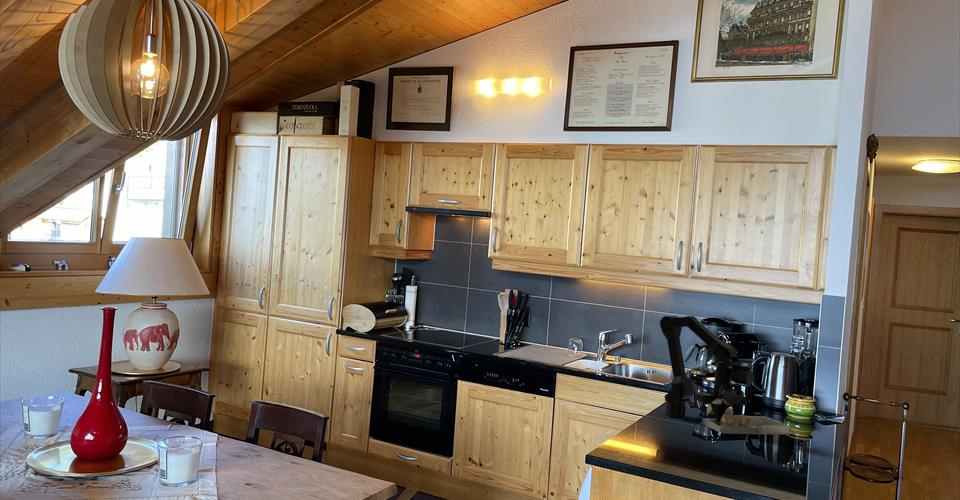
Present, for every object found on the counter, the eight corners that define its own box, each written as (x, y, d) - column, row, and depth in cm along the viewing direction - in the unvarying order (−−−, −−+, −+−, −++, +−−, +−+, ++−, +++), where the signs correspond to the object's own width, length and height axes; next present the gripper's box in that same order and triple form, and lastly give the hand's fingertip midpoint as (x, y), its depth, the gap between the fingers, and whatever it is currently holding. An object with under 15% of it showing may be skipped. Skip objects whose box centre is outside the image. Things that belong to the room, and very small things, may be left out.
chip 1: (727, 429, 277) (729, 417, 276) (720, 426, 281) (721, 414, 281) (737, 430, 278) (739, 418, 278) (730, 426, 282) (731, 414, 282)
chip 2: (741, 430, 278) (743, 418, 278) (732, 427, 282) (733, 415, 282) (750, 430, 280) (751, 418, 280) (740, 426, 284) (742, 414, 284)
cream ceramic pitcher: (736, 421, 297) (728, 399, 296) (712, 428, 300) (703, 406, 298) (733, 412, 304) (725, 391, 303) (710, 419, 307) (701, 397, 305)
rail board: (722, 435, 270) (723, 425, 270) (699, 424, 284) (700, 414, 283) (790, 436, 280) (791, 426, 280) (764, 425, 293) (765, 416, 293)
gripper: (714, 383, 267) (709, 427, 267) (758, 385, 273) (753, 428, 273) (696, 376, 277) (691, 418, 278) (738, 378, 283) (733, 419, 284)
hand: (717, 421), depth 278 cm, fingers closed
